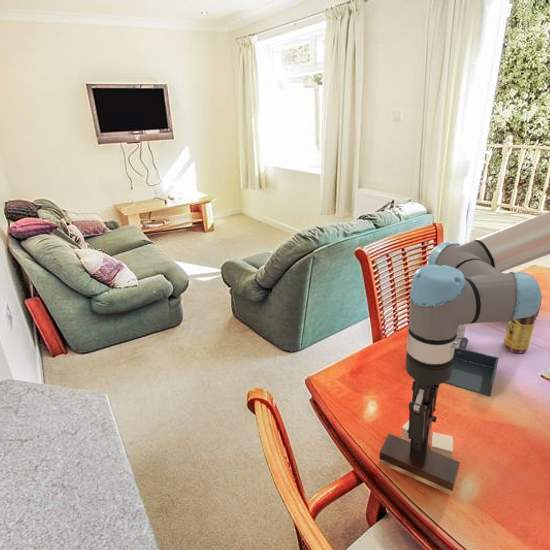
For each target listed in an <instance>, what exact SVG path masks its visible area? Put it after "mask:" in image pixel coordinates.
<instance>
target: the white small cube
mask: <svg viewBox="0 0 550 550" xmlns="http://www.w3.org/2000/svg"><path fill="white" fill-rule="evenodd" d="M408 428H409V420H408V421H407V422H405V424H403V425H402V426H401V434H400V438H403V439H405V440H406V441H409V442H411V439H409V438H408V434H409V433H407V430H408Z"/></svg>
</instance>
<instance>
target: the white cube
mask: <svg viewBox="0 0 550 550" xmlns="http://www.w3.org/2000/svg"><path fill="white" fill-rule="evenodd" d="M431 436H432V438H431V444H432V445H431V444H430V450H431V451H434V452H436V453H439V454H441V455H444V456H446V457H449V458H451V459H453V453H454V436H452V435H447V434H444V433H440V432H435V431H432V435H431Z"/></svg>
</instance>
